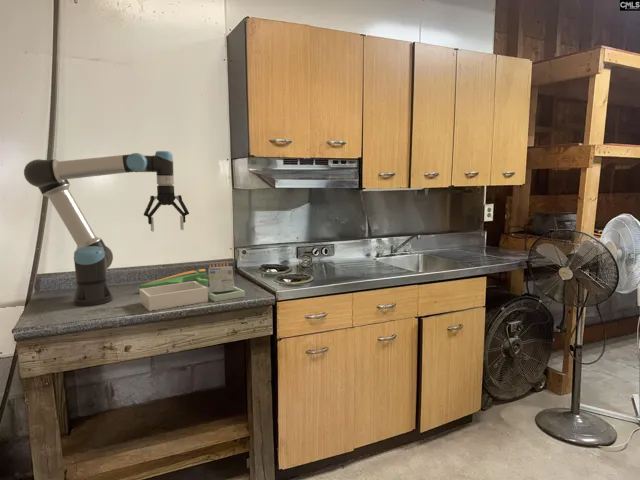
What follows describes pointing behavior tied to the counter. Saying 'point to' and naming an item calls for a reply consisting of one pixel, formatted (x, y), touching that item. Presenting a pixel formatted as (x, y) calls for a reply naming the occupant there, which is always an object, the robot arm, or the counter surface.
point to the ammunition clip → (219, 266)
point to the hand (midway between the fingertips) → (167, 230)
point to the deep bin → (173, 295)
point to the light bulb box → (221, 279)
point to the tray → (225, 294)
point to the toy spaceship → (180, 279)
